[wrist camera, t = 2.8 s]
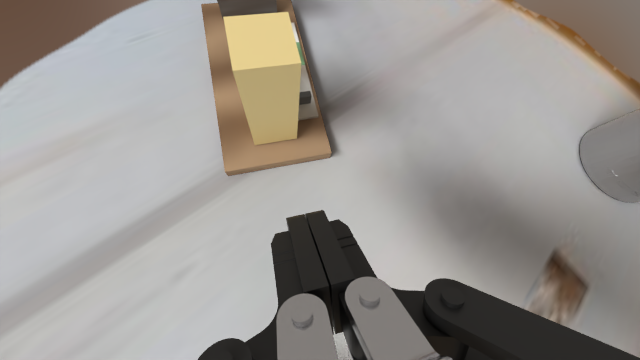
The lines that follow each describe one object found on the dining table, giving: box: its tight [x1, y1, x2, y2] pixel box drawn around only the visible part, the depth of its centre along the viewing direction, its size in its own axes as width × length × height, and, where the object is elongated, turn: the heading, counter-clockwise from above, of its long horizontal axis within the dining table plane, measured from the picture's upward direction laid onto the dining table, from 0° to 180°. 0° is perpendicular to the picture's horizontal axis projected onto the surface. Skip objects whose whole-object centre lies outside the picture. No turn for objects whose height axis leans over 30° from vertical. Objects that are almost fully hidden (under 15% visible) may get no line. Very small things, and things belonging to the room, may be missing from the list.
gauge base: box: [201, 0, 331, 176], centre depth 25 cm, size 20×10×7 cm, turn 13°
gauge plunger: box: [223, 12, 312, 145], centre depth 21 cm, size 8×6×10 cm
